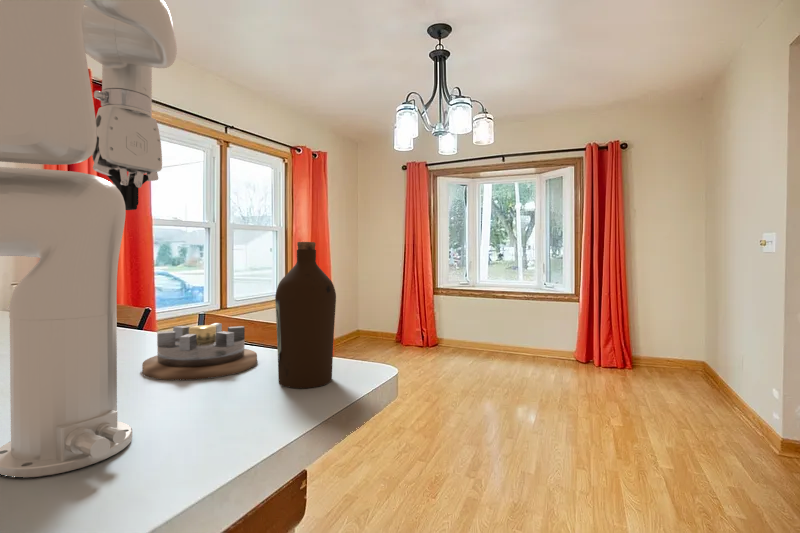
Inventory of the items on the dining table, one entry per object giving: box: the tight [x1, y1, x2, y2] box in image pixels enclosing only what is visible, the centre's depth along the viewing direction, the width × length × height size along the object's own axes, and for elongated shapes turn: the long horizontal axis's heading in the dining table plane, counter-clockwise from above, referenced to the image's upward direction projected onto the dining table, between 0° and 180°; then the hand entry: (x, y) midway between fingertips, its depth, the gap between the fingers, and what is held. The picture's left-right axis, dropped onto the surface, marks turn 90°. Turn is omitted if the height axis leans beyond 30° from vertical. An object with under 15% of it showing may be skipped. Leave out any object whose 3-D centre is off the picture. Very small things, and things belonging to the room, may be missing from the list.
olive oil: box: [274, 241, 337, 389], centre depth 77 cm, size 11×11×25 cm
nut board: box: [141, 348, 258, 381], centre depth 87 cm, size 21×21×2 cm
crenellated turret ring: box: [156, 322, 246, 367], centre depth 87 cm, size 16×16×6 cm
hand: (127, 209), depth 77 cm, fingers closed
